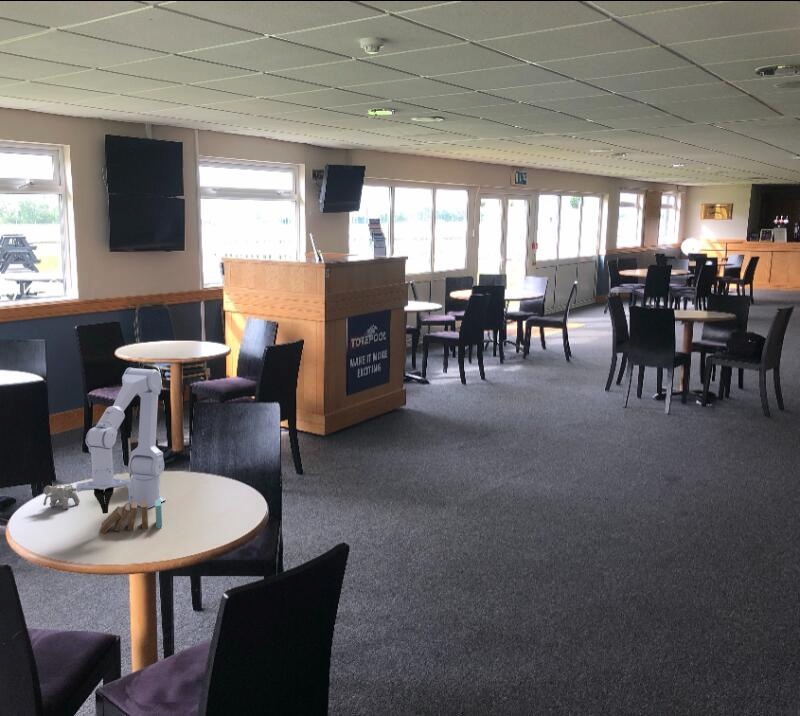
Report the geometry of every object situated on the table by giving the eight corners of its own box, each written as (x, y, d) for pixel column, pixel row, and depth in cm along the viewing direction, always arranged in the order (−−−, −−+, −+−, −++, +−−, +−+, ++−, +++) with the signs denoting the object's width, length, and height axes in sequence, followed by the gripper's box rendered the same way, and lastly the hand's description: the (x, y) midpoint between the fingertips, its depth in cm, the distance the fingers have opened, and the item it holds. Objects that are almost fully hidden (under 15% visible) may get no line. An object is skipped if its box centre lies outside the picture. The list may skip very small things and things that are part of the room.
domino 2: (113, 529, 221) (125, 509, 221) (115, 523, 225) (126, 502, 225) (119, 532, 221) (130, 511, 221) (120, 525, 226) (131, 504, 226)
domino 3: (127, 530, 222) (131, 507, 221) (128, 523, 227) (131, 501, 226) (133, 530, 222) (136, 508, 221) (134, 523, 227) (137, 501, 226)
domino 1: (100, 530, 220) (117, 512, 220) (101, 523, 224) (118, 505, 225) (104, 533, 220) (121, 515, 221) (106, 526, 225) (122, 509, 225)
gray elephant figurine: (82, 502, 244) (81, 479, 243) (68, 515, 232) (66, 490, 231) (53, 502, 243) (52, 479, 242) (37, 515, 232) (35, 491, 231)
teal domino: (156, 528, 224) (155, 506, 223) (156, 521, 229) (155, 499, 228) (162, 527, 225) (160, 505, 223) (162, 521, 229) (161, 499, 228)
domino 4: (142, 529, 223) (140, 507, 222) (142, 523, 228) (141, 501, 226) (147, 529, 224) (146, 506, 222) (148, 522, 228) (147, 500, 227)
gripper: (74, 474, 213) (77, 520, 216) (128, 470, 217) (131, 514, 220) (76, 466, 220) (79, 510, 222) (129, 462, 224) (132, 505, 226)
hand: (105, 512), depth 221 cm, fingers closed
